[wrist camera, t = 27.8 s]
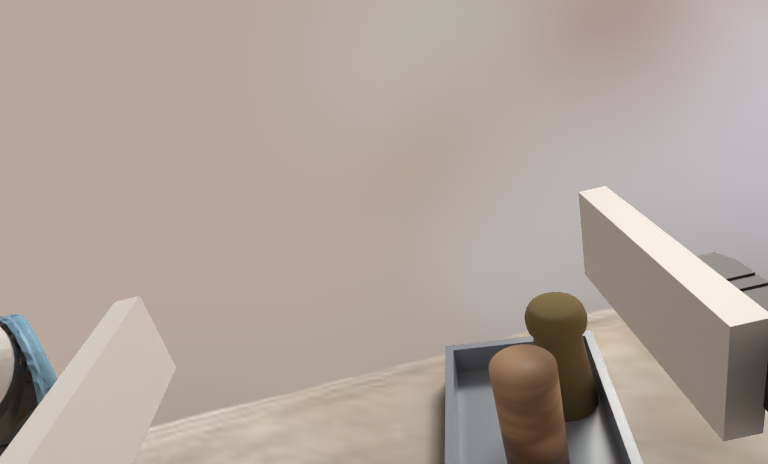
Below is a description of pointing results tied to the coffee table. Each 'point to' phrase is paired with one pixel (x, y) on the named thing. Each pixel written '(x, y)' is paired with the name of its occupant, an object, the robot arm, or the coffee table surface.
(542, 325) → the cork
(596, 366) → the tote
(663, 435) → the coffee table surface
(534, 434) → the walnut cylinder
